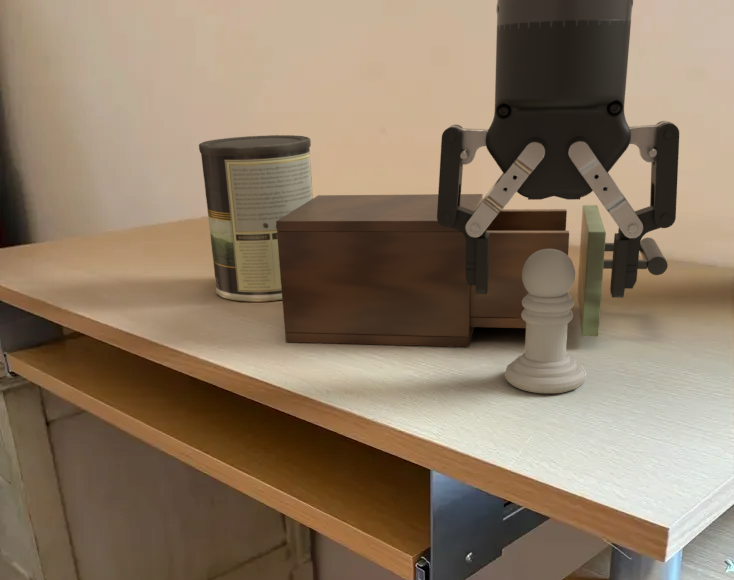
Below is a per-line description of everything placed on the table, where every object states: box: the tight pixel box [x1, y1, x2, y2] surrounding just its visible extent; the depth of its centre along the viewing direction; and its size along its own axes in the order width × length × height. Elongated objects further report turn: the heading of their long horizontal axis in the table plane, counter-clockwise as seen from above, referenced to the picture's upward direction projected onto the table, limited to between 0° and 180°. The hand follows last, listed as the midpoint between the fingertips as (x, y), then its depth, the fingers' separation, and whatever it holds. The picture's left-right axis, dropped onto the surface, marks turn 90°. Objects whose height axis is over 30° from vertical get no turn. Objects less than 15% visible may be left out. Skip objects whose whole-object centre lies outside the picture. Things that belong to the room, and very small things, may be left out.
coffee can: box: [198, 134, 314, 303], centre depth 79 cm, size 10×10×14 cm
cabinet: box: [276, 193, 484, 348], centre depth 69 cm, size 15×13×10 cm
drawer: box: [470, 204, 669, 337], centre depth 66 cm, size 18×11×8 cm, turn 79°
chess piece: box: [504, 249, 587, 394], centre depth 54 cm, size 5×5×9 cm
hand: (548, 293), depth 54 cm, fingers open, 8 cm apart
